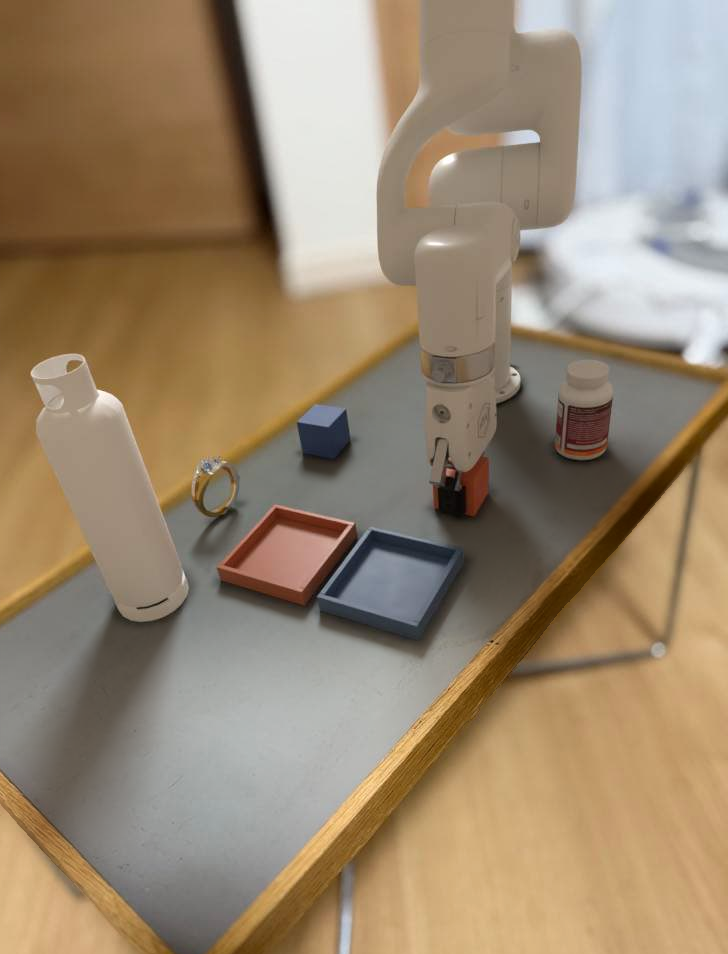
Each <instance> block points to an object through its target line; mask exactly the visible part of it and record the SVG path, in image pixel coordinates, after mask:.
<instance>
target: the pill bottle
mask: <svg viewBox="0 0 728 954" xmlns="http://www.w3.org/2000/svg"><path fill="white" fill-rule="evenodd" d="M609 375H610V367H609V366H608V364H607V363H605V362H603V361H601V360H597V359H580V360H576V361H573V362H571V363H569V364H568V365H567V367H566V372H565V381H564V382H563V383H561V385H560V387H559V389H558V395H557V410H556V425H555V437H554V438H555V439H554V447H555V450H556V451H557V453H558V454H560V455H561V456H563V457H564V458H567V459H569V460H575V461H590V460H593V459H596V458H598V457H600V456H602V455H603V454H605V452H606V450H607V447H608V442H609V441H608V440H609V431H610V423H611V416H612V407H613V400H614V399H613V398H614V388H613V385H612V384H611V382H609V381H608V380H609Z"/></svg>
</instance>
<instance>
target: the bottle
mask: <svg viewBox="0 0 728 954" xmlns="http://www.w3.org/2000/svg"><path fill="white" fill-rule="evenodd" d="M71 361H79V362H82V363H81V364H80V365H79V366H78V367H77V368H75V369H73V370H71V371H68V372H67V366H68V363H69V362H71ZM30 376H31V379H32V381H33V383H34V386H35V387H36V389H37V391H38V394H39V397H40V399H41V401H42V403H43V405H44V407H42V409H41V412H40V413H39V415H38V416H37V418H36V419H35V435H36V437H37V439H38V441H39V443H40V446H41V447H42V449H43V450H42V451H43V452H44V454H45V456H46V459H47V460H48V461H47V462H48V463H49V465H50V467H51V469H52V471H53V473H54V475H55V478H56V479H57V482H58V484H59V486H60V488H61V490H62V492H63V495H64V497H65V499H66V501H67V503H68V505H69V507H70V509H71V512H72V514H73V516H74V518H75V520H76V522H77V525H78V527H79V529H80V530H81V533H82V535H83V538H84V539H85V541H86V543H87V546H88V548H89V550H90V552H91V555H92V556H93V558H94V561H95V563H96V565H97V568H98V569H99V571H100V574H101V576H102V578H103V580H104V582H105V584H106V586H107V588H108V591H109V593H110V594H111V596H112V597H113V602H114V603H115V605H116V608H117V610H118V611H119V613H120V614H121V616H122V617H124V618H125V619H127V620H129V621H131V622H139V623H144V622H153V621H156V620H159V619H162V618H165V617H167V616H168V615H170V614H172V613H174V612H175V611H176V610H178V608H179V607H181V605H182V604H183V603H184V602H185V600H186V599H187V597H188V593H189V589H190V587H189V583H188V579H187V577H186V575H185V571H184V569H183V568H182V567H183V566H182V564H181V561H180V558H179V555H178V552H177V550H176V547H175V544H174V542H173V538H172V536H171V533H170V530H169V528H168V526H167V522H166V519H165V516H164V513H163V511H162V508H161V506H160V503H159V500H158V498H157V495H156V492H155V490H154V487H153V485H152V481H151V479H150V476H149V473H148V471H147V468H146V465H145V462H144V460H143V456H142V454H141V452H140V449H139V446H138V443H137V441H136V438H135V435H134V433H133V430H132V426H131V424H130V421H129V419H128V416H127V413H126V411H125V408H124V405H123V403H122V402H121V401H120V400H119V399H118V398H117V397H116V396H115V395H113V394H112V393H110V392H107V391H104V390H101V389H97V386H96V384H95V380H94V378H93V376H92V374H91V371H90V369H89V366H88V362H87V360H86V357H85V356H83V355H82V354H78V353H66V354H60V355H56V356H52V357H50V358H48V359H45V360H43V361H41V362H40V363H37V364H36V365H35V366H34V367H33V368H32V370H31V371H30ZM162 601H163V602H162ZM160 602H161V603H160ZM158 603H159V604H158ZM156 604H157V605H156Z"/></svg>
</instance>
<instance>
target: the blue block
mask: <svg viewBox="0 0 728 954" xmlns="http://www.w3.org/2000/svg"><path fill="white" fill-rule="evenodd" d="M349 425H350V424H349V419H348V412H347V408H344V407H336V406H331V405H324V404H318V403H315V404H313V406H311V408H309V409H308V410H307V411H306V412H305V413H304V414H303V415H302V416H301V417H300V418H299V419H298V420H297V421H296V427H297V432H298V437H299V441H300V447H301V451H302V454H305V455H311V456H316V457H320V458H326V459H331V460H334V459H336V457H337V456H338V455H339V454H340V453H341V451H342V450H343V449H344V448H345V447H346V446H347V445H348V444H349V443H350V441H352V439H351V433H350V432H351V431H350V426H349Z"/></svg>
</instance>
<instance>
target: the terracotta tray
mask: <svg viewBox="0 0 728 954" xmlns="http://www.w3.org/2000/svg"><path fill="white" fill-rule="evenodd" d="M357 537H358V530H357V525H356V522H354V521H349V520H344V519H341V518H337V517H332V516H329V515H328V516H327V515H323V514H319V513H315V512H311V511H306V510H302V509H297V508H293V507H290V506H289V507H288V506H285V505H282V504H281V505H280V504H276V503H274V504H273V505H272V506H271V507H270V508H269V510H267V511H266V513H265V514H264V515H263V516H262V517H261V518H260V519H259V520H258V521H257V523H255V525H254V526H253V527H252V528H251V529H250V530H249V531H248V533H246V534H245V536H243V538H241V540H240V541H239V542H238V543H237V544H236V545H235V547H234V548H232V550H231V551H230V552H229V553H228V554H227V555H226V556H225V557H224V558H223V559H222V561H220V563H219V564H218V565H217V566H216V570H217V573H218V576H219V579H220V581H222V582H226V583H229V584H232V585H235V586H239V587H242V588H245V589H249V590H251V591H255V592H259V593H262V594H264V595H267V596H272V597H274V598H278V599H281V600H285V601H287V602H291V603H294V604H298V605H301V606H303V607H305V606H306V605H307V604H308V602H309V601H310V600H311V598H312V597H313V595H314V594H315V593H316V592H317V590H318V589H319V587H320V586H321V585H322V584H323V583H324V581H325V580H326V578H327V577H328V576H329V574H330V573H331V572H332V570H333V569H334V568H335V567H336V565H337V564H338V563H339V561H340V560H341V558H342V557H343V556H344V555H345V553H346V552H347V551H348V549H349V548H350V547H351V545H352V544H353V543H354V541H355V540H356V539H357Z"/></svg>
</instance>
